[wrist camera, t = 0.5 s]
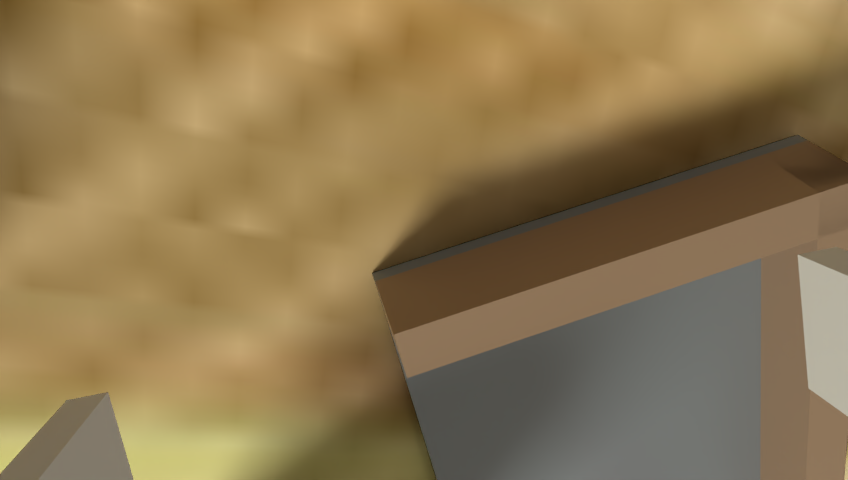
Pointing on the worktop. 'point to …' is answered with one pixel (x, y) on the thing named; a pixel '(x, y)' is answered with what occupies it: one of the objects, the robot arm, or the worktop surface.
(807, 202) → the tray
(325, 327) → the worktop surface
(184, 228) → the worktop surface
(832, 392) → the robot arm
